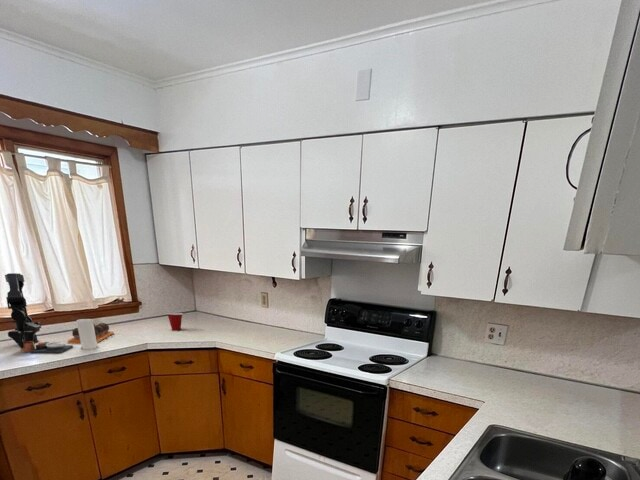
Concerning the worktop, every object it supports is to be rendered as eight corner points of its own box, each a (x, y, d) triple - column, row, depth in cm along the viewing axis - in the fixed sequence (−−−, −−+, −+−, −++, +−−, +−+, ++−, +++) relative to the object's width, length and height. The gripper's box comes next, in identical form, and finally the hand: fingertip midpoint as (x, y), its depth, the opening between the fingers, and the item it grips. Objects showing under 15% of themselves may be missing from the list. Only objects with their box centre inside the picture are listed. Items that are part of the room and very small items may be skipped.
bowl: (18, 352, 235) (16, 343, 233) (25, 349, 242) (23, 340, 240) (31, 352, 236) (29, 343, 234) (38, 349, 242) (35, 341, 240)
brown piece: (88, 333, 283) (85, 320, 280) (113, 333, 285) (111, 321, 282) (68, 343, 258) (65, 329, 254) (96, 343, 259) (93, 329, 256)
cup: (91, 349, 245) (85, 321, 239) (78, 348, 247) (72, 320, 241) (100, 346, 253) (95, 319, 247) (88, 345, 254) (83, 318, 248)
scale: (30, 353, 234) (28, 348, 233) (44, 347, 247) (43, 342, 246) (60, 353, 235) (59, 348, 234) (73, 347, 248) (72, 342, 247)
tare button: (37, 346, 239) (37, 343, 238) (40, 345, 241) (39, 342, 240) (42, 346, 239) (41, 343, 238) (45, 345, 241) (44, 342, 241)
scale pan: (34, 347, 235) (33, 346, 235) (44, 342, 245) (44, 341, 245) (60, 347, 236) (60, 346, 236) (69, 343, 246) (69, 342, 246)
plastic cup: (187, 329, 304) (186, 312, 300) (175, 332, 296) (173, 314, 291) (177, 327, 310) (175, 310, 305) (165, 329, 301) (163, 312, 296)
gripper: (25, 321, 224) (32, 350, 230) (45, 315, 241) (51, 342, 247) (3, 321, 223) (11, 350, 229) (24, 315, 240) (31, 342, 246)
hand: (27, 346), depth 238 cm, fingers open, 9 cm apart
